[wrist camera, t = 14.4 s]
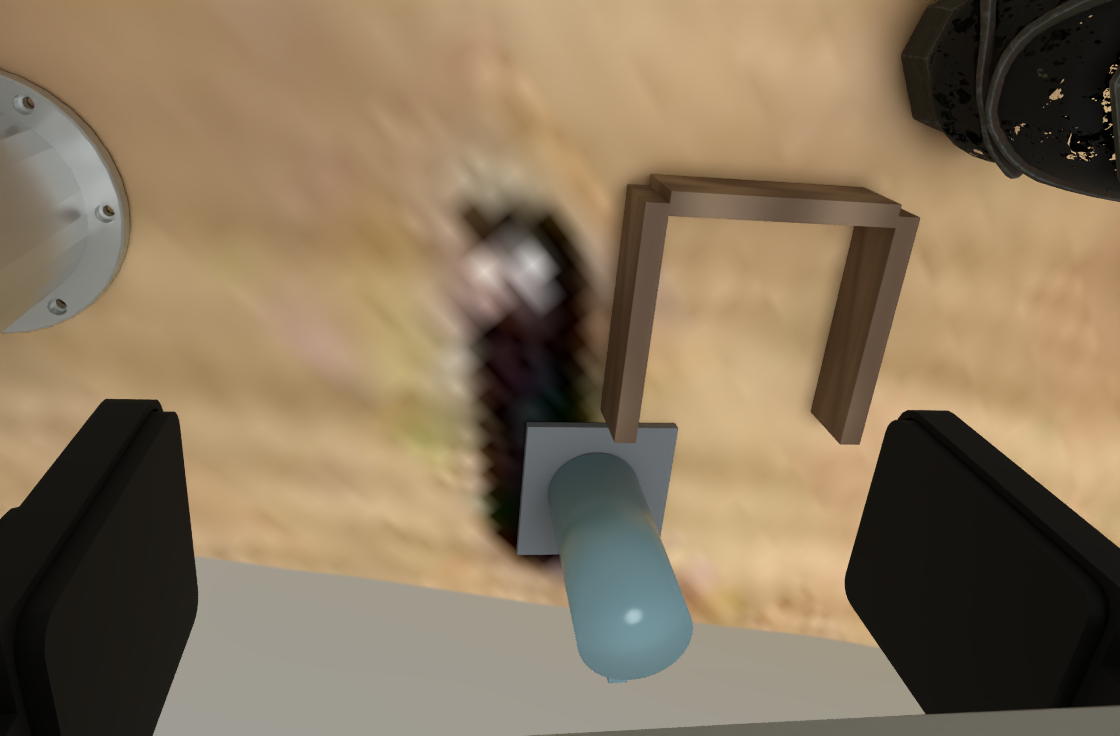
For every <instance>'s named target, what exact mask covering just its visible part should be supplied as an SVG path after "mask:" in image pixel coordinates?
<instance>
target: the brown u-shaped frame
mask: <svg viewBox="0 0 1120 736" xmlns="http://www.w3.org/2000/svg"><path fill="white" fill-rule="evenodd" d="M901 206H902V205H901V204H899V203H897V202H895V201H892V200H890V199H888V198H886V197H884V196H882V195H879V194H877V193H875V192H873V191H871V190H868V189H866V188H864V187H848V186H832V185H816V184H800V183H784V182H768V181H752V180H736V179H720V178H704V177H688V176H672V175H655V174H652V175H651V182H650V186H646V185H629V184H628V187H627V195H626V203H625V212H624V220H623V228H622V237H621V245H620V253H619V261H618V270H617V278H616V286H615V294H614V303H613V311H612V319H611V327H610V336H609V344H608V352H607V360H606V369H605V377H604V385H603V393H602V402H601V412H602V414H603V416H604V419H605V421H606V424H607V426H608V429H609V431H610V434H611V436H612V438H613V441H614V443H636V438H637V431H638V424H639V417H640V410H641V403H642V396H643V389H644V382H645V375H646V368H647V361H648V354H649V347H650V340H651V333H652V326H653V319H654V312H655V305H656V298H657V291H658V284H659V277H660V270H661V263H662V256H663V249H664V242H665V235H666V228H667V221H668V216H680V217H698V218H717V219H736V220H754V221H773V222H791V223H810V224H829V225H847V226H855V228H854V232H853V236H852V240H851V245H850V249H849V253H848V257H847V262H846V266H845V270H844V274H843V279H842V283H841V287H840V291H839V295H838V300H837V304H836V308H835V312H834V317H833V321H832V325H831V329H830V334H829V338H828V342H827V346H826V350H825V355H824V359H823V363H822V367H821V372H820V376H819V380H818V384H817V388H816V393H815V397H814V401H813V405H812V410H811V413H812V414H813V415H814V416H815V417H816V418H817V419H818V420H819V422H820V423H821V424H822V425H823V426H824V427H825V428H826V429H827V430H828V432H829V433H830V434H831V435H832V436H833V437H834V438H835V439H836V440H837V442H838V443H839V444H854V445H860V441H861V437H862V434H863V430H864V426H865V422H866V419H867V415H868V411H869V407H870V404H871V400H872V396H873V393H874V389H875V385H876V381H877V378H878V374H879V370H880V366H881V363H882V359H883V355H884V351H885V348H886V344H887V340H888V337H889V333H890V329H891V325H892V322H893V318H894V314H895V310H896V307H897V303H898V299H899V295H900V292H901V288H902V284H903V281H904V277H905V273H906V269H907V266H908V262H909V258H910V254H911V251H912V247H913V243H914V240H915V236H916V232H917V228H918V225H919V221H920V217H918V216H916V215H913V214H911V213H909V212H907V211H905V210H903V209H901Z"/></svg>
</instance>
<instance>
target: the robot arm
mask: <svg viewBox="0 0 1120 736" xmlns="http://www.w3.org/2000/svg"><path fill="white" fill-rule="evenodd" d="M27 97H30V98H31V99H32V100H33V103H34V105H35V106H34V108H33V107H30V106H29V105H28V103H27ZM107 205H108V206H110V207H111V208H112V209H113V211H114V213H115V214H110V213H109V212H107V210H106V206H107ZM129 232H130V221H129V207H128V201H127V197H126V194H125V190H124V187H123V183H122V179H121V177H120V175H119V173H118V171H117V169H116V167H115V165H114V163H113V161H112V159H111V157H110V155H109V153H108V152H107V150H106V149H105V148H104V146H103V145H102V143H101V142H100V141H99V139H98V138H97V136H96V135H95V134H94V132H93V131H92V130H91V129H90V128H89V127H88V126H87V125H86V124H85V123H84V122H83V121H82V120H81V119H80V118H79V117H78V116H77V115H76V114H75V113H74V112H73V111H72V110H71V109H70V108H69V107H68V106H66V105H65V104H63V103H62V102H61V101H59V100H58V99H57V98H55V97H54V96H53V95H51V94H50V93H49V92H47V91H46V90H44V89H42V88H40V87H38V86H36V85H34V84H32V83H31V82H29V81H27V80H25V79H23V78H21V77H19V76H17V75H14V74H11V73H8V72H5V71H2V70H0V334H5V333H23V332H31V331H36V330H40V329H44V328H48V327H53V326H55V325H57V324H59V323H62V322H64V321H66V320H68V319H70V318H73V317H75V316H76V315H77V314H79V313H80V312H82V311H83V310H84V309H86V308H87V307H88V306H90V305H91V304H93V303H94V302H95V301H96V300H97V299H98V298H99V297H100V296H101V295H102V294H103V293H104V292H105V291H106V290H107V288H108V287H109V285H110V284H111V282H112V281H113V279H114V278H115V277H116V275H117V274H118V272H119V270H120V267H121V265H122V262H123V259H124V257H125V254H126V252H127V246H128V239H129ZM59 299H61V300H62V301H64V302H65V303H66V305H64V304H62V303H61V302H60V300H59ZM845 591H846V595H847V598H848V601H849V602H850V604H851V606H852V607H853V609H854V610H855V612H856V613H857V615H858V616H859V617H860V619H861V620H862V622H863V623H864V625H865V626H866V628H867V629H868V631H869V632H870V633H871V635H872V636H873V638H874V639H875V641H876V642H877V644H878V645H879V647H880V648H881V650H882V651H883V652H884V654H885V655H886V657H887V658H888V660H889V661H890V663H891V664H892V666H893V667H894V668H895V670H896V671H897V673H898V674H899V676H900V677H901V678H902V680H903V682H904V683H905V685H906V686H907V687H908V689H909V690H910V692H911V693H912V695H913V696H914V698H915V699H916V701H917V702H918V703H919V705H920V706H921V708H922V709H923V711H924V712H925V714H923V715H904V716H885V717H864V718H847V719H846V718H845V719H827V720H807V721H787V722H768V723H749V724H732V725H713V726H696V727H677V728H659V729H643V730H642V729H641V730H625V731H606V732H588V733H569V734H549V735H532V736H1120V548H1119V547H1118V546H1116V545H1115V544H1114V543H1113V542H1111V541H1110V540H1109V539H1108V538H1106V537H1105V536H1104V535H1103V534H1101V533H1100V532H1099V531H1098V530H1097V529H1095V528H1094V527H1093V526H1092V525H1090V524H1089V523H1088V522H1087V521H1085V520H1084V519H1083V518H1082V517H1080V516H1079V515H1078V514H1077V513H1076V512H1074V511H1073V510H1072V509H1071V508H1069V507H1068V506H1067V505H1066V504H1064V503H1063V502H1062V501H1061V500H1060V499H1058V498H1057V497H1056V496H1055V495H1053V494H1052V493H1051V492H1050V491H1048V490H1047V489H1046V488H1045V487H1043V486H1042V485H1041V484H1040V483H1039V482H1037V481H1036V480H1035V479H1034V478H1032V477H1031V476H1030V475H1029V474H1027V473H1026V472H1025V471H1024V470H1023V469H1021V468H1020V467H1019V466H1018V465H1016V464H1015V463H1014V462H1013V461H1011V460H1010V459H1009V458H1008V457H1006V456H1005V455H1004V454H1003V453H1002V452H1000V451H999V450H998V449H997V448H995V447H994V446H993V445H992V444H990V443H989V442H988V441H987V440H985V439H984V438H983V437H982V436H981V435H979V434H978V433H977V432H976V431H974V430H973V429H972V428H971V427H969V426H968V425H967V424H966V423H965V422H963V421H962V420H961V419H960V418H958V417H957V416H956V415H955V414H953V413H951V412H949V411H933V410H907V411H905V412H903V413H902V414H901V416H900V417H899V418H898V420H894V421H892V422H891V423H890V424H889V425H888V427H887V430H886V432H885V436H884V440H883V443H882V447H881V450H880V454H879V457H878V461H877V464H876V468H875V472H874V475H873V479H872V482H871V486H870V489H869V493H868V497H867V500H866V504H865V507H864V511H863V514H862V518H861V522H860V525H859V529H858V532H857V536H856V539H855V543H854V546H853V550H852V554H851V557H850V561H849V564H848V568H847V571H846V576H845ZM197 606H198V586H197V577H196V567H195V558H194V549H193V540H192V531H191V522H190V513H189V504H188V495H187V486H186V477H185V468H184V459H183V450H182V440H181V431H180V423H179V418H178V416H177V414H176V412H163V409H162V406H161V404H160V402H159V401H158V400H141V399H105V400H104V401H103V402H101V404H100V405H99V406H98V407H97V409H96V410H95V411H94V412H93V414H92V415H91V416H90V418H89V419H88V420H87V421H86V423H85V424H84V425H83V426H82V428H81V429H80V430H79V432H78V433H77V434H76V435H75V437H74V438H73V439H72V440H71V442H70V443H69V444H68V445H67V447H66V448H65V449H64V451H63V452H62V453H61V454H60V456H59V457H58V458H57V459H56V461H55V462H54V463H53V465H52V466H51V467H50V468H49V470H48V471H47V472H46V473H45V475H44V476H43V477H42V479H41V480H40V481H39V482H38V484H37V485H36V486H35V487H34V489H33V490H32V491H31V493H30V494H29V495H28V496H27V498H26V499H25V500H24V501H23V503H22V504H21V505H20V507H16V508H12V509H10V510H9V511H8V512H7V513H6V514H5V515H4V516H3V517H2V518H1V519H0V736H153V733H154V730H155V727H156V725H157V722H158V719H159V717H160V714H161V711H162V708H163V705H164V703H165V700H166V697H167V695H168V692H169V689H170V687H171V684H172V681H173V679H174V675H175V673H176V670H177V667H178V665H179V662H180V659H181V657H182V654H183V651H184V649H185V646H186V643H187V640H188V638H189V635H190V632H191V630H192V627H193V624H194V621H195V617H196V613H197Z"/></svg>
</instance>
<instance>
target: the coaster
mask: <svg viewBox="0 0 1120 736" xmlns="http://www.w3.org/2000/svg"><path fill="white" fill-rule="evenodd" d="M677 432H678V427H677V426H676V424H660V423H639V424H638V431H637V438H636V443H614V441H613V438H612V436H611V434H610V431H609V429H608V426H607V424H606V423H564V422H527V425H526V438H525V450H524V462H523V475H522V487H521V499H520V512H519V524H518V536H517V555H549V554H559V552H558V547H557V542H556V537H555V532H554V527H553V522H552V517H551V513H550V508H549V502H548V489H549V486H550V483H551V481H552V479H553V477H554V476H555V474H556V473H557V472H558V470H559V469H560V468H561V467H563V466H564V465H565V464H566V463H568V462H569V461H571V460H573V459H575V458H577V457H580V456H583V455H587V454H595V453H602V454H609V455H613V456H616V457H618V458H620V459H622V460H624V461H625V462H626V463H628V464H629V465H630V466H631V467H632V469H633V470H634V472H635V473H636V476H637V478H638V480H639V483H640V486H641V488H642V491H643V493H644V496H645V499H646V501H647V504H648V507H649V509H650V512H651V514H652V517H653V520H654V522H655V525H656V527H657V530H658V533H659V535H661V529H662V523H663V517H664V511H665V505H666V499H667V493H668V487H669V481H670V475H671V469H672V463H673V457H674V451H675V445H676V438H677Z"/></svg>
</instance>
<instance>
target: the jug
mask: <svg viewBox="0 0 1120 736" xmlns="http://www.w3.org/2000/svg"><path fill="white" fill-rule="evenodd" d="M548 502H549V508H550V513H551V517H552V522H553V527H554V532H555V537H556V542H557V547H558V552H559V557H560V562H561V567H562V572H563V577H564V582H565V587H566V592H567V597H568V602H569V607H570V612H571V616H572V622H573V627H574V631H575V637H576V641H577V646H578V651H579V654H580V656H581V658H582V660H583V662H584V663H585V664H586V665H587V666H588V667H589V668H590V669H591V670H593V671H594V672H596V673H598V674H600V675H602V676H605V677H607V680H608V683H621V682H627V680H632V679H639V678H644V677H647V676H651V675H653V674H656V673H658V672H660V671H662V670H664V669H666V668H667V667H669V666H670V665H672V664H673V663H674V662H675V661H676V660H677V659H678V658H679V657H680V656H681V655H682V654H683V653H684V651H685V650H686V648H687V646H688V645H689V642H690V640H691V636H692V630H693V626H692V619H691V616H690V613H689V611H688V608H687V606H686V603H685V600H684V598H683V595H682V593H681V590H680V587H679V585H678V582H677V580H676V577H675V574H674V572H673V569H672V566H671V564H670V561H669V559H668V556H667V553H666V551H665V548H664V546H663V543H662V540H661V538H660V535H659V533H658V530H657V527H656V525H655V522H654V520H653V517H652V514H651V512H650V509H649V507H648V504H647V501H646V499H645V496H644V493H643V491H642V488H641V486H640V483H639V480H638V478H637V476H636V473H635V472H634V470H633V469H632V467H631V466H630V465H629V464H628V463H626V462H625V461H624V460H622V459H620V458H618V457H616V456H613V455H609V454H602V453H595V454H587V455H583V456H580V457H577V458H575V459H573V460H571V461H569V462H568V463H566V464H565V465H564V466H563V467H561V468H560V469H559V470H558V472H557V473H556V474H555V476H554V477H553V479H552V481H551V483H550V486H549V489H548Z"/></svg>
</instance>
